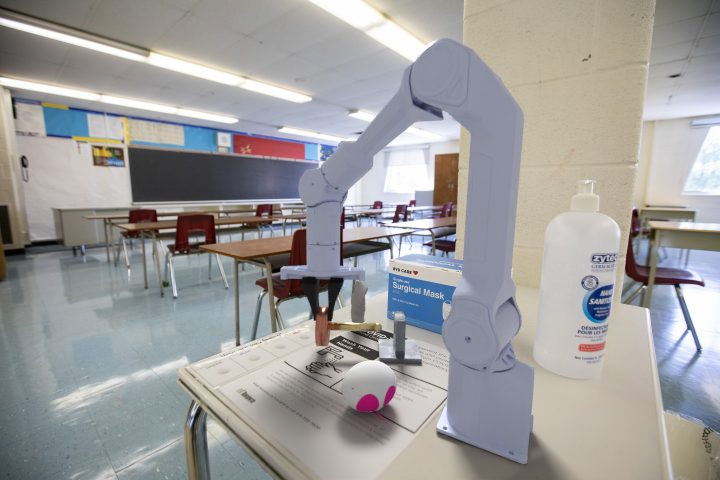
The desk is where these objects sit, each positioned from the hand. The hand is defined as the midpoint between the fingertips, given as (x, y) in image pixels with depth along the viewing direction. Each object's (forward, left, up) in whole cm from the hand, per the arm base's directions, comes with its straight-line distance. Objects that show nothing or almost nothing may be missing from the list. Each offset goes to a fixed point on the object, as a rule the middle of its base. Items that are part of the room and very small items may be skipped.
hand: (323, 319), depth 54 cm
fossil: (0, -13, -6) cm, 14 cm away
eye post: (-12, -6, -6) cm, 15 cm away
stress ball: (-15, +9, -6) cm, 18 cm away
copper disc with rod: (-4, -2, -5) cm, 7 cm away
